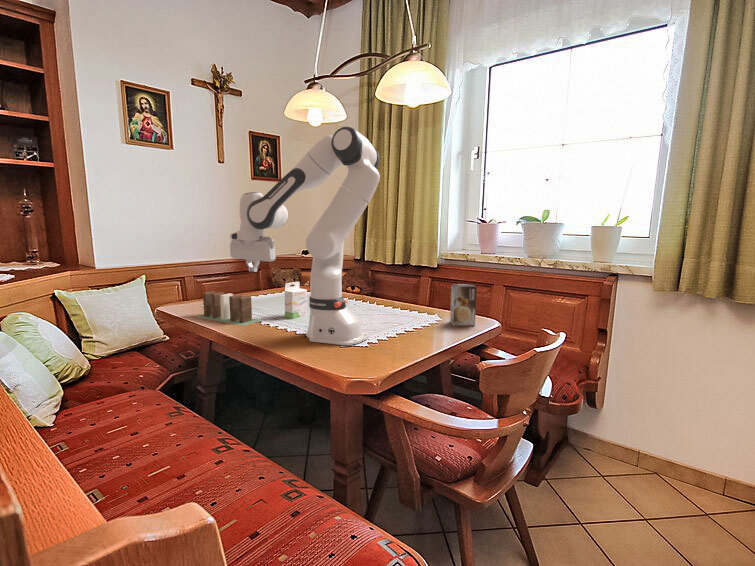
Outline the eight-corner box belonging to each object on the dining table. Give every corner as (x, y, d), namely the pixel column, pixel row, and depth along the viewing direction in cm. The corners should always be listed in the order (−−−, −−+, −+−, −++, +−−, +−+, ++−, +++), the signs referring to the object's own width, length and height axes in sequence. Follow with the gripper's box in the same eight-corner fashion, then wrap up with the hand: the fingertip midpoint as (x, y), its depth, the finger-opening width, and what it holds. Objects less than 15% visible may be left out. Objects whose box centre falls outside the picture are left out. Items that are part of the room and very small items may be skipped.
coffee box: (471, 321, 167) (473, 283, 164) (475, 325, 160) (477, 286, 158) (449, 321, 166) (451, 283, 164) (452, 325, 160) (454, 286, 157)
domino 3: (242, 318, 164) (241, 294, 162) (233, 321, 160) (232, 297, 158) (239, 318, 165) (238, 294, 163) (230, 320, 160) (229, 296, 159)
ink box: (292, 319, 165) (291, 284, 163) (284, 317, 168) (283, 283, 165) (307, 316, 172) (307, 282, 169) (300, 314, 175) (299, 281, 172)
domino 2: (225, 315, 168) (224, 292, 167) (215, 318, 164) (214, 294, 162) (222, 315, 169) (221, 292, 168) (212, 317, 165) (211, 294, 163)
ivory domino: (233, 317, 166) (232, 293, 165) (224, 319, 162) (223, 295, 160) (230, 316, 167) (229, 293, 165) (221, 319, 162) (220, 295, 161)
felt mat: (262, 320, 163) (262, 320, 163) (244, 326, 154) (243, 325, 154) (215, 312, 175) (215, 312, 175) (195, 317, 166) (195, 316, 166)
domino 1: (216, 314, 171) (215, 291, 169) (207, 316, 166) (205, 293, 165) (213, 313, 171) (212, 291, 170) (204, 316, 167) (202, 292, 165)
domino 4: (252, 320, 162) (251, 296, 160) (242, 323, 157) (241, 298, 156) (248, 319, 163) (247, 295, 161) (239, 322, 158) (238, 297, 157)
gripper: (279, 236, 150) (279, 272, 153) (239, 234, 159) (240, 268, 162) (267, 237, 145) (268, 274, 147) (226, 234, 154) (227, 270, 156)
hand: (253, 271), depth 154 cm, fingers closed
